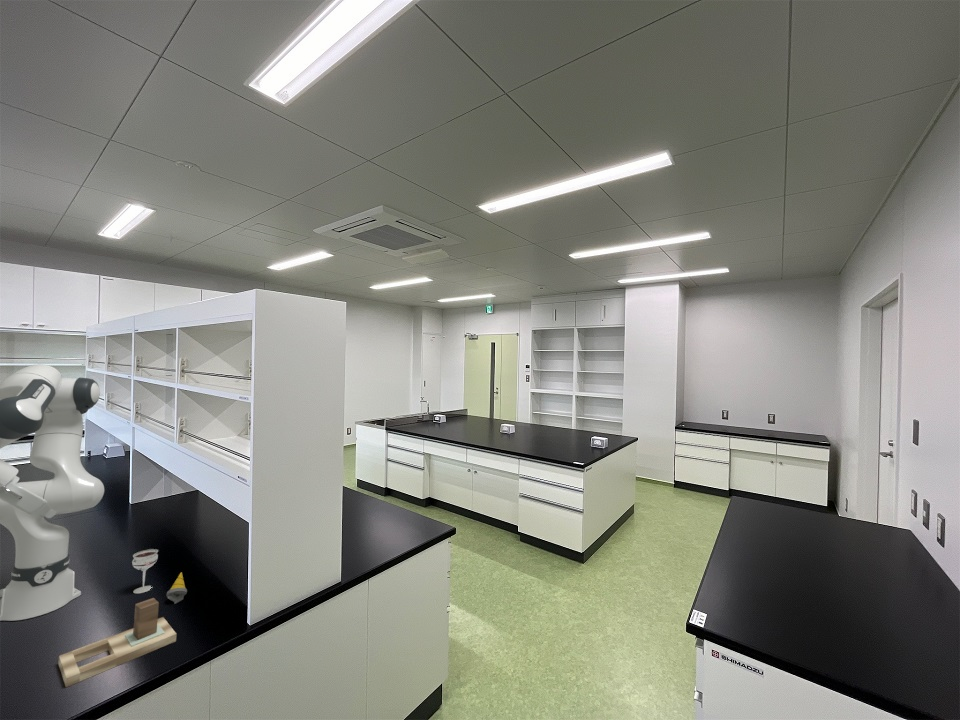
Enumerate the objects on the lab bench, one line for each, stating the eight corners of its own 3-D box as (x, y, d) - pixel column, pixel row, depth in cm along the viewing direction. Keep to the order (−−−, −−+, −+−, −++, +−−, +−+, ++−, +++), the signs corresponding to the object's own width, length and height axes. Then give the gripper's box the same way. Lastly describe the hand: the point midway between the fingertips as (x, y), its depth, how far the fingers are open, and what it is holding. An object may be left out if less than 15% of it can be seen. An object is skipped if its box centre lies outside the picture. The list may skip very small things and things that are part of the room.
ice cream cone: (160, 607, 124) (167, 574, 131) (178, 608, 127) (184, 576, 134) (170, 599, 122) (177, 567, 129) (188, 600, 126) (194, 569, 133)
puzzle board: (58, 663, 98) (59, 654, 98) (162, 624, 115) (163, 616, 115) (65, 687, 91) (66, 677, 91) (176, 641, 107) (176, 632, 108)
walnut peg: (133, 634, 106) (135, 604, 107) (151, 627, 110) (153, 597, 110) (138, 640, 104) (140, 609, 105) (156, 632, 107) (158, 602, 108)
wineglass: (144, 583, 137) (147, 548, 137) (161, 585, 136) (163, 550, 136) (124, 593, 130) (127, 556, 131) (141, 595, 129) (144, 558, 130)
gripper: (18, 475, 89) (74, 507, 97) (-6, 464, 99) (46, 494, 107) (-15, 500, 85) (46, 531, 93) (-37, 486, 95) (20, 515, 103)
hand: (46, 511), depth 100 cm, fingers open, 8 cm apart
